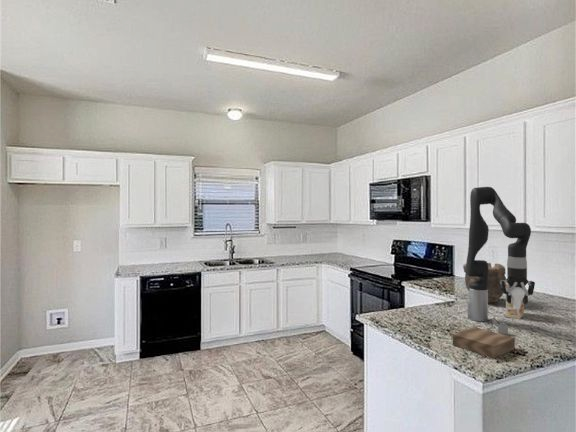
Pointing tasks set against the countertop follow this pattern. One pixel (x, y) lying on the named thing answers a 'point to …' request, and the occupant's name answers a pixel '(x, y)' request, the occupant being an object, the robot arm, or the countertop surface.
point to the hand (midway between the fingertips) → (517, 303)
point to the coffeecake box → (513, 312)
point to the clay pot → (490, 281)
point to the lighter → (501, 327)
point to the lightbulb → (517, 297)
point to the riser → (484, 342)
